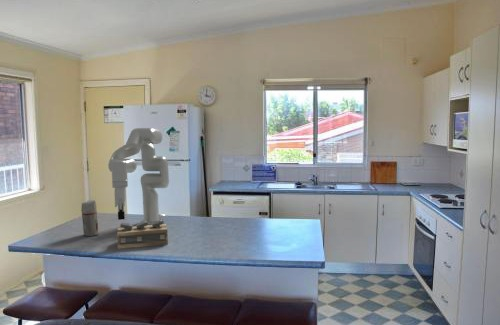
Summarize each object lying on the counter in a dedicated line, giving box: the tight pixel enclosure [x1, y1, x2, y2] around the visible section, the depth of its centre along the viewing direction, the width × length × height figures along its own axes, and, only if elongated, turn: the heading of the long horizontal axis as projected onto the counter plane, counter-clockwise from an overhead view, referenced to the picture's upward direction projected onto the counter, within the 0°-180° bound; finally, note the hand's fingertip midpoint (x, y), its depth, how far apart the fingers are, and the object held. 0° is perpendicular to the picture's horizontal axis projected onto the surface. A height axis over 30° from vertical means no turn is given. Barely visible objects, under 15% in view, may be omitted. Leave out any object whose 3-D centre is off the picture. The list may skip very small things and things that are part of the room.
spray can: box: [80, 199, 99, 237], centre depth 228 cm, size 8×8×20 cm
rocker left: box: [119, 222, 134, 229], centre depth 209 cm, size 4×6×2 cm
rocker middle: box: [135, 221, 149, 229], centre depth 211 cm, size 4×6×2 cm
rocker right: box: [151, 218, 165, 227], centre depth 213 cm, size 4×6×2 cm
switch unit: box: [116, 222, 169, 250], centre depth 211 cm, size 12×25×11 cm, turn 106°
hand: (121, 219), depth 207 cm, fingers closed
